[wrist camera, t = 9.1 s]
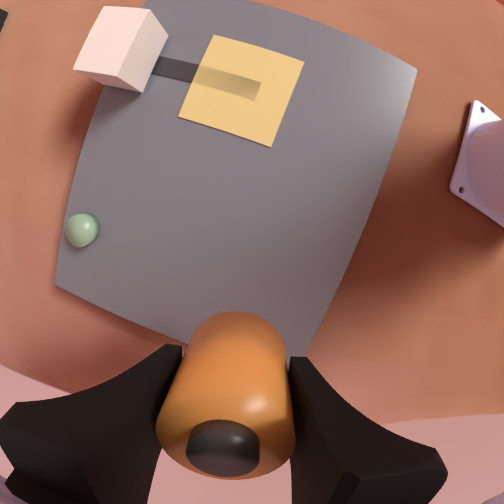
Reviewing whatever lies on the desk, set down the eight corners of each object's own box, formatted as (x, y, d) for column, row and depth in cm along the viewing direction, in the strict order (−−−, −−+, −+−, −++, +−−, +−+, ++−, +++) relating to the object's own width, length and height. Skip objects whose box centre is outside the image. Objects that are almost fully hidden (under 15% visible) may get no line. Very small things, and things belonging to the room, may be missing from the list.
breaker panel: (402, 79, 18) (426, 64, 14) (289, 359, 22) (293, 388, 19) (164, 1, 17) (149, -23, 13) (71, 274, 22) (44, 289, 18)
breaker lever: (168, 35, 15) (149, 9, 11) (142, 92, 16) (116, 76, 12) (127, 29, 15) (103, 6, 11) (102, 84, 16) (72, 69, 12)
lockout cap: (301, 330, 12) (324, 429, 7) (264, 401, 13) (263, 502, 8) (205, 296, 12) (165, 384, 6) (179, 373, 13) (141, 469, 7)
